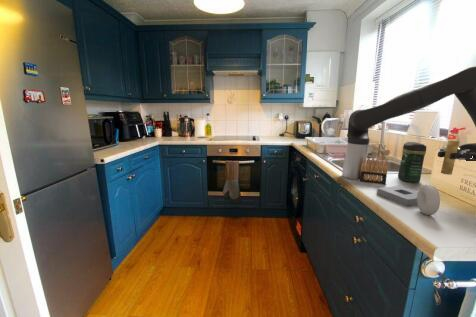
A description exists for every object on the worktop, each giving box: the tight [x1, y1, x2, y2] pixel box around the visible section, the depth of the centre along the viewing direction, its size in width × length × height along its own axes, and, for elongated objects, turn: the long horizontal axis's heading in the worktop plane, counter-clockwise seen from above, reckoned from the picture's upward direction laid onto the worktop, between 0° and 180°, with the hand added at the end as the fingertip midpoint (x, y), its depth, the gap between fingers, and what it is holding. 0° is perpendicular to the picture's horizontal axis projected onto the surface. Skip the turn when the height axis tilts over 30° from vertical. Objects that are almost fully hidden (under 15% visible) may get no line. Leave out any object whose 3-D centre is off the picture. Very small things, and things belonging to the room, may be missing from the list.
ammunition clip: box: [358, 156, 389, 186], centre depth 104 cm, size 11×2×12 cm, turn 65°
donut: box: [417, 183, 441, 216], centre depth 73 cm, size 10×4×10 cm, turn 161°
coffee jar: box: [397, 141, 427, 183], centre depth 108 cm, size 10×8×19 cm
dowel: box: [440, 139, 461, 176], centre depth 81 cm, size 3×3×12 cm
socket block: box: [376, 185, 419, 207], centre depth 87 cm, size 12×12×2 cm
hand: (445, 155), depth 80 cm, fingers closed on dowel, 3 cm apart
